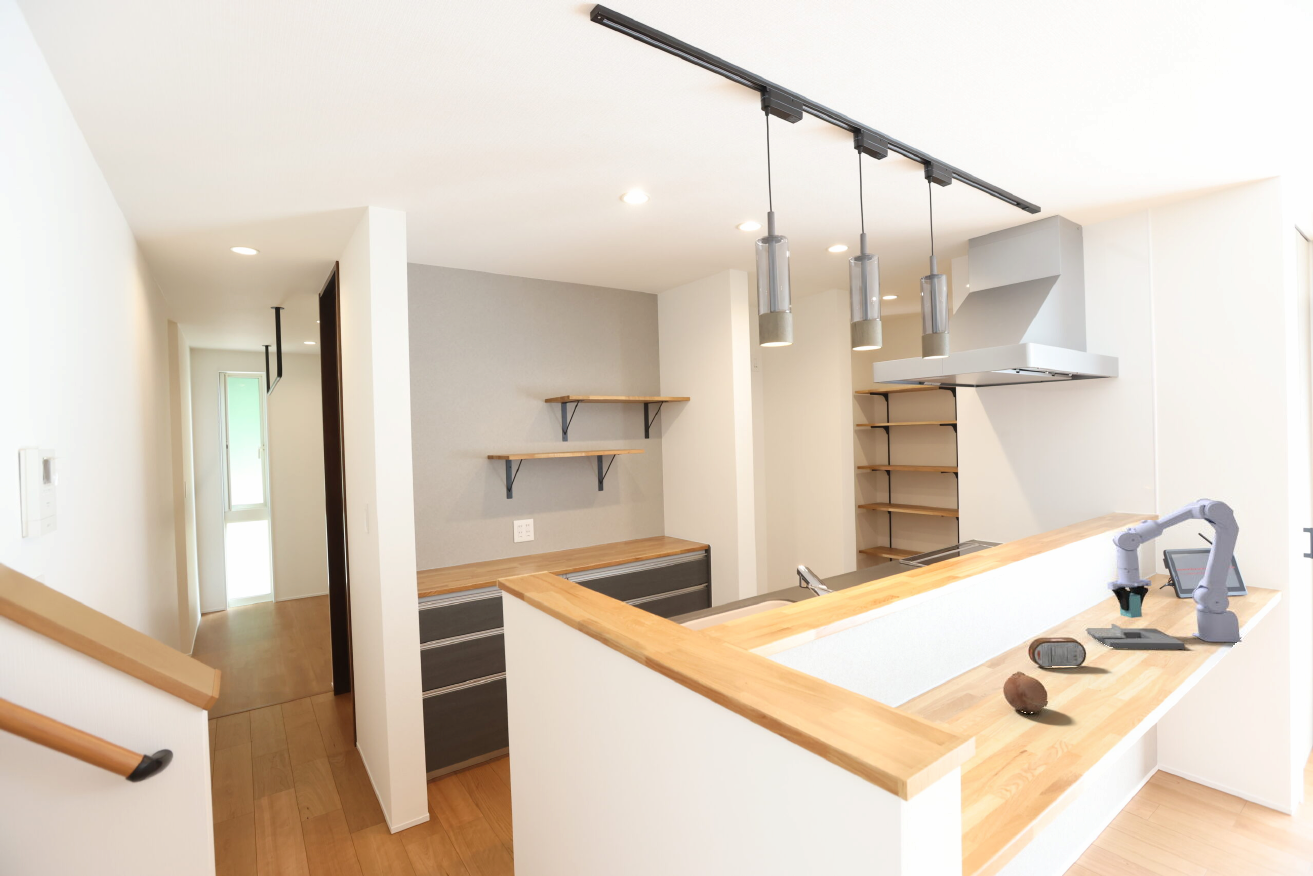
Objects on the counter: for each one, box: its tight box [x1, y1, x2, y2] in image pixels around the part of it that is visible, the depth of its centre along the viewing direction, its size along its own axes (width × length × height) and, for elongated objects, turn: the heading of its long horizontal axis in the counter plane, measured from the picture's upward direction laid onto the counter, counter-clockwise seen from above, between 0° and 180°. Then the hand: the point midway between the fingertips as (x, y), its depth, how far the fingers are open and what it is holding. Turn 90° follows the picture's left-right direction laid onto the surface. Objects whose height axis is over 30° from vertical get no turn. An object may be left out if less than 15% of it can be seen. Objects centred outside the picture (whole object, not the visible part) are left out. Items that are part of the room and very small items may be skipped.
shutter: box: [1085, 623, 1126, 638], centre depth 203 cm, size 8×8×2 cm
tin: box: [1027, 636, 1087, 668], centre depth 183 cm, size 15×3×8 cm, turn 84°
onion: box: [1003, 671, 1049, 714], centre depth 155 cm, size 10×9×10 cm
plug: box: [1119, 593, 1143, 619], centre depth 208 cm, size 4×4×7 cm
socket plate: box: [1086, 627, 1186, 650], centre depth 202 cm, size 20×16×2 cm
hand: (1131, 609), depth 208 cm, fingers closed on plug, 4 cm apart
